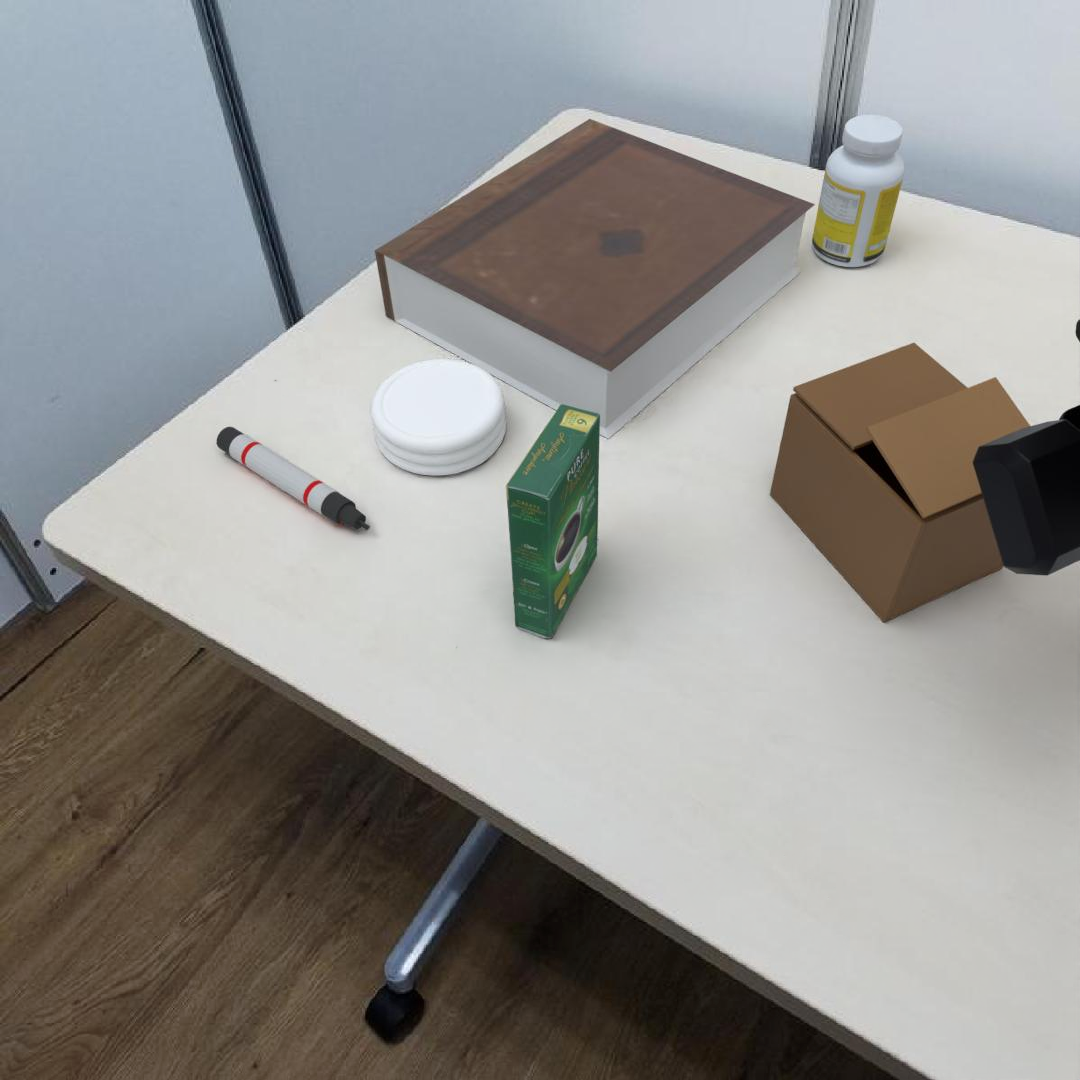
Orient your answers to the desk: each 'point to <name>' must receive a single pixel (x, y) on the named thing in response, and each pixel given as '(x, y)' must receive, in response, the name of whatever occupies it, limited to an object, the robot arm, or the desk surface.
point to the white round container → (438, 417)
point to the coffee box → (554, 519)
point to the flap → (945, 443)
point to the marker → (291, 478)
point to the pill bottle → (859, 192)
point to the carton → (876, 486)
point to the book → (594, 269)
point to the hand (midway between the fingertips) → (1025, 458)
